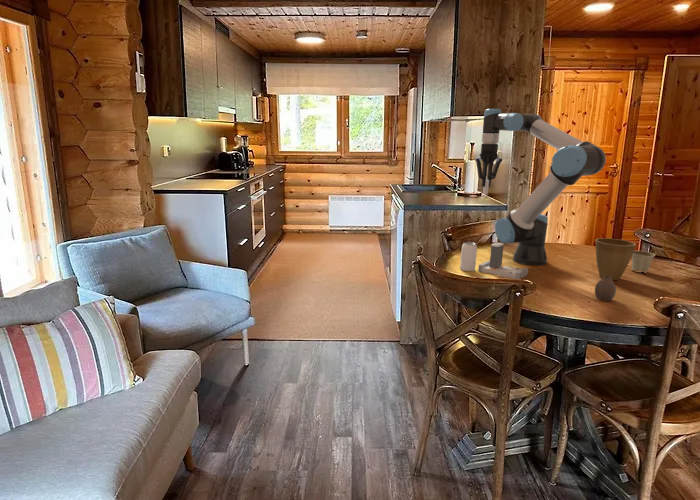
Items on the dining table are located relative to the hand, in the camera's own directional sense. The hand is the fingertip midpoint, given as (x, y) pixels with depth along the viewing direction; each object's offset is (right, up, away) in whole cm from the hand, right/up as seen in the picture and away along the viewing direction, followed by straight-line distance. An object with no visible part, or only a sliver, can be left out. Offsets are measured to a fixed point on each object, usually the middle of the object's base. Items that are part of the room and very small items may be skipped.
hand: (485, 193), depth 235 cm
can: (-13, -36, -19) cm, 42 cm away
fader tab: (-1, -36, -21) cm, 41 cm away
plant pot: (+46, -39, -26) cm, 66 cm away
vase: (+29, -46, -53) cm, 76 cm away
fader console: (+1, -37, -23) cm, 43 cm away
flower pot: (+65, -37, -15) cm, 76 cm away
